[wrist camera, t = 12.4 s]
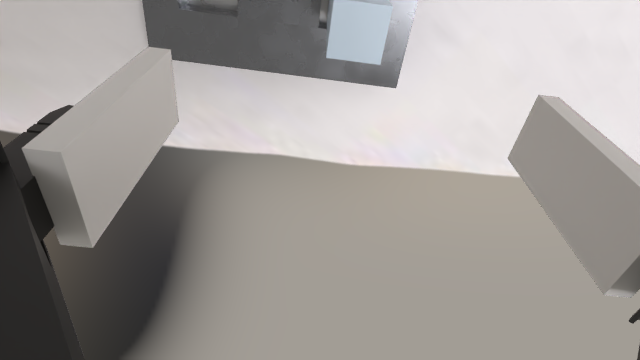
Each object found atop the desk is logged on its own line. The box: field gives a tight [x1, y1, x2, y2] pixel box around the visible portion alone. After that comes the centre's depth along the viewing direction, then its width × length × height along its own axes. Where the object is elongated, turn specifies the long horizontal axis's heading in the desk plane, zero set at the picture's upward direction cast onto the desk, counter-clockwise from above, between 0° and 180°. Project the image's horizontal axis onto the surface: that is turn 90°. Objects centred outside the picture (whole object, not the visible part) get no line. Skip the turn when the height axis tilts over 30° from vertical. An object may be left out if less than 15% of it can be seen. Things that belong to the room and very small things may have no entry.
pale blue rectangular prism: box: [326, 0, 393, 65], centre depth 29 cm, size 4×4×12 cm
